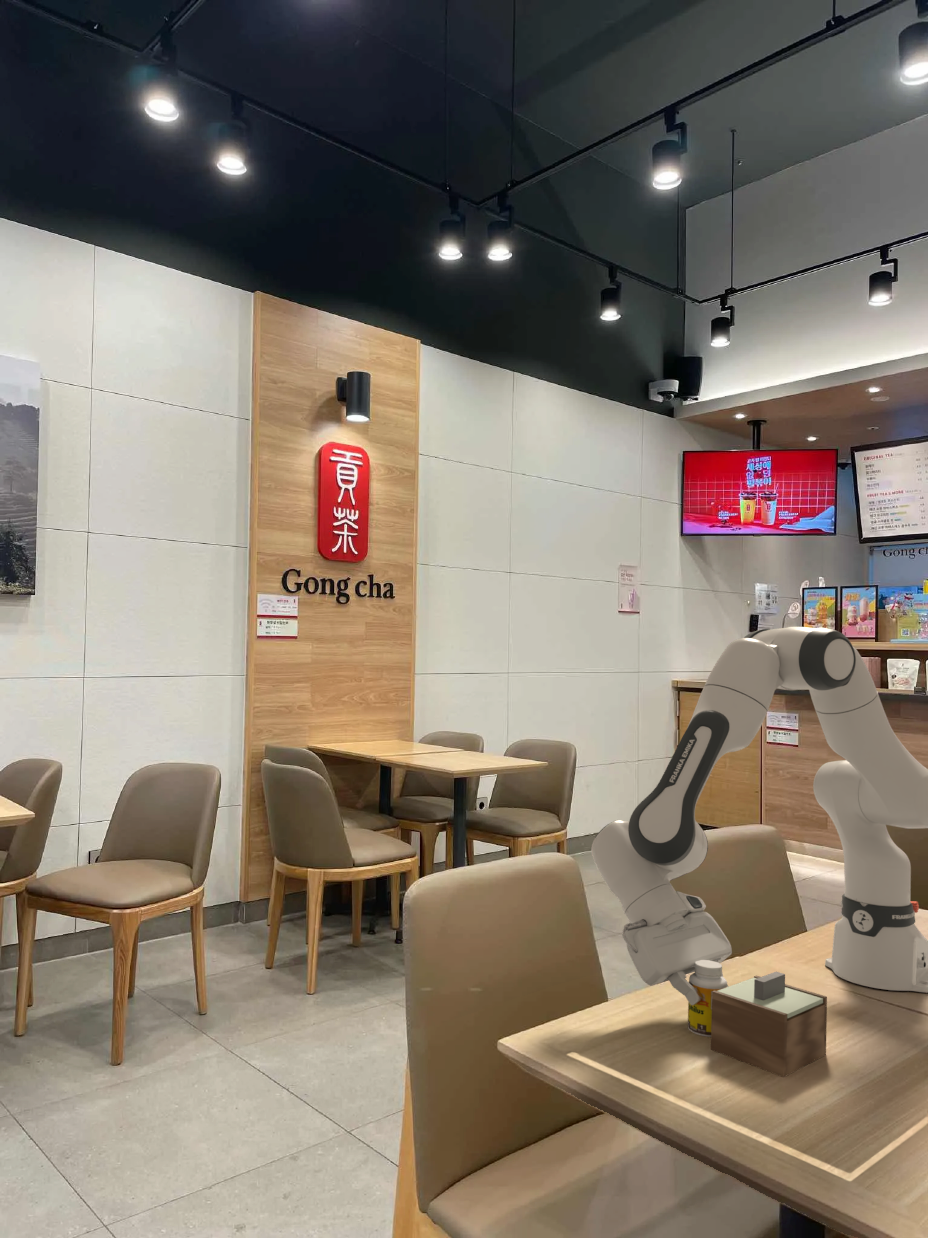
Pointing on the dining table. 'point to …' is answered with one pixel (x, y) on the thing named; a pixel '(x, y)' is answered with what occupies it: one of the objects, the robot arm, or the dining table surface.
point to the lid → (773, 994)
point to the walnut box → (768, 1033)
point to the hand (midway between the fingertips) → (711, 997)
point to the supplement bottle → (704, 995)
